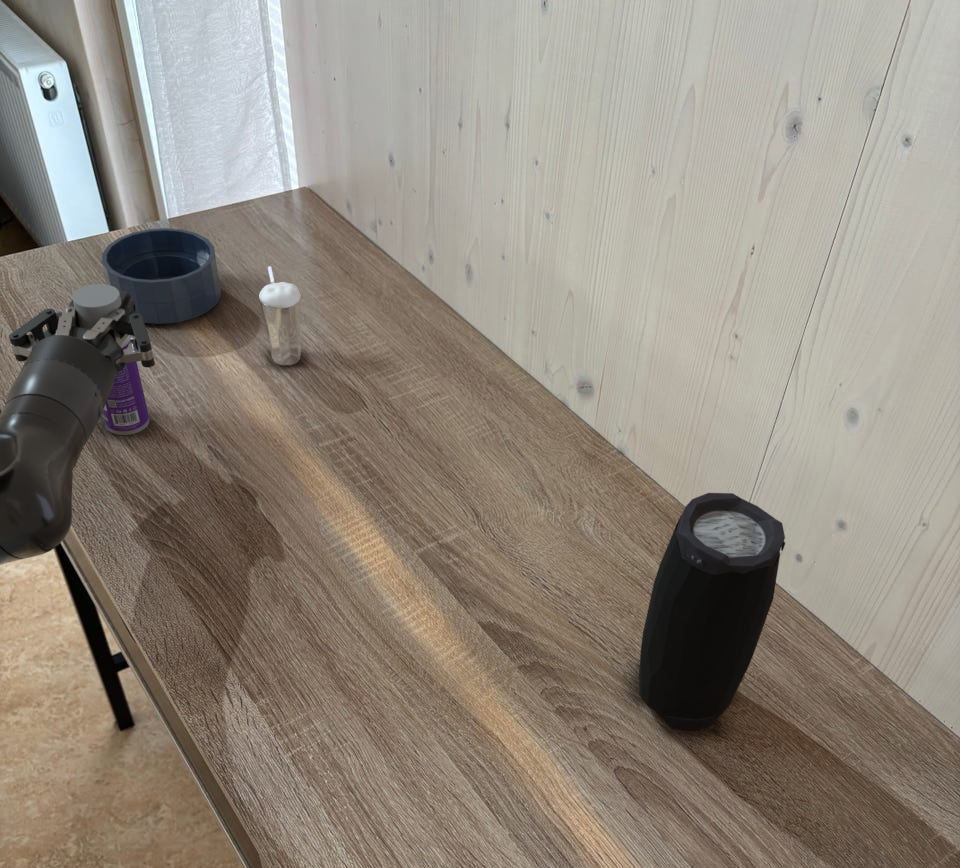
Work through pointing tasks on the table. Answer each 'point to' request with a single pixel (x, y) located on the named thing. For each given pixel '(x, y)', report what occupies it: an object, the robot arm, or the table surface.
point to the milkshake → (282, 320)
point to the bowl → (164, 273)
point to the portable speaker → (708, 608)
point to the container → (127, 395)
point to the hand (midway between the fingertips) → (107, 298)
